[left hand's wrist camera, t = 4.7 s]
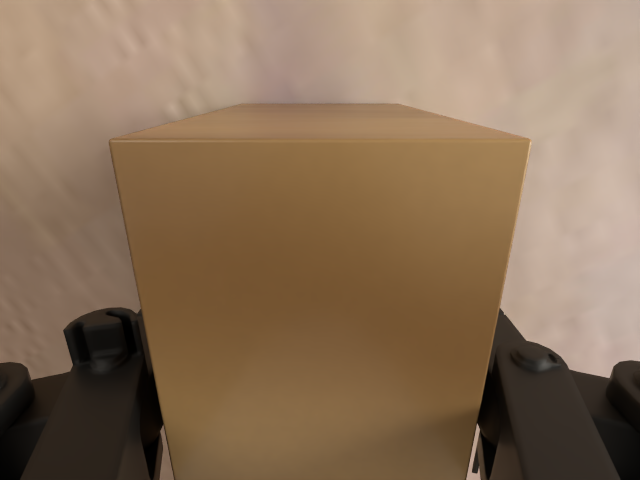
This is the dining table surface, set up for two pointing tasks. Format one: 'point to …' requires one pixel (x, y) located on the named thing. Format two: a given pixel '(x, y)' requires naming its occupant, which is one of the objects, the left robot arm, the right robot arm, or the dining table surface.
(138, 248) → the bar
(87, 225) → the dining table surface
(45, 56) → the dining table surface
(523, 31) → the dining table surface
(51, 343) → the dining table surface
